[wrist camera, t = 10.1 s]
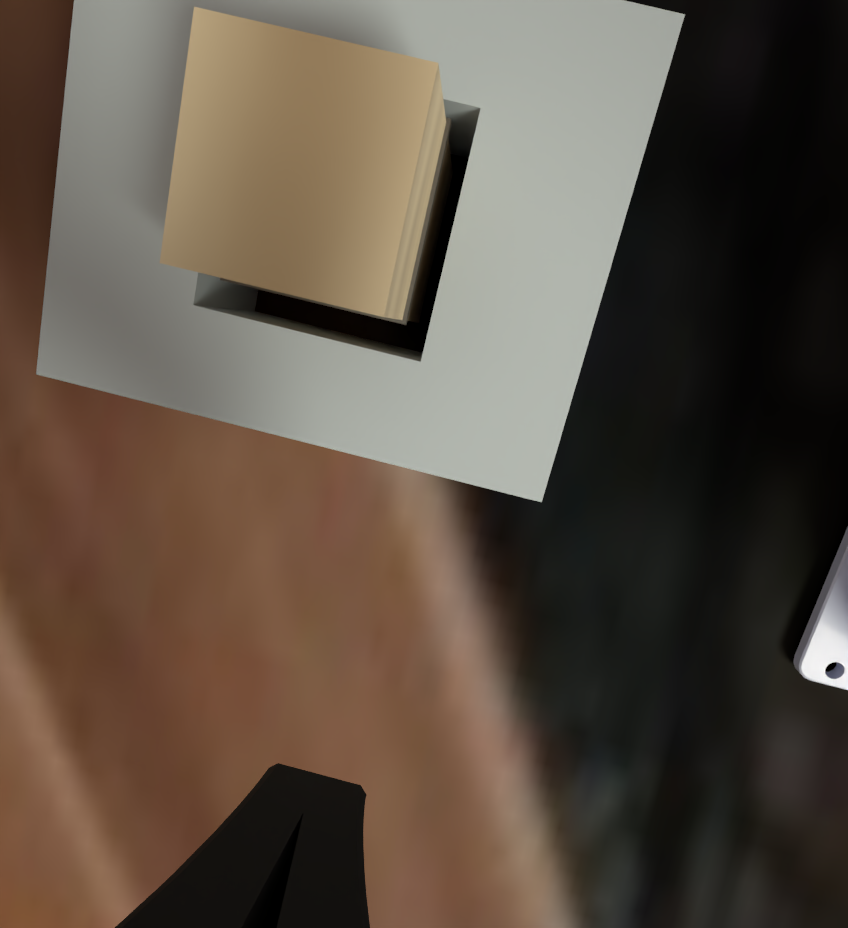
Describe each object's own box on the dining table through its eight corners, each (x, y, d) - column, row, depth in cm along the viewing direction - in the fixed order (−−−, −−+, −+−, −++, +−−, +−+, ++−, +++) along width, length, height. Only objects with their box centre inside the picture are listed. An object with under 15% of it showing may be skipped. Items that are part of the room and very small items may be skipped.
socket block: (633, 92, 16) (684, 14, 12) (526, 465, 18) (541, 502, 14) (179, -15, 16) (86, -124, 12) (129, 365, 18) (36, 374, 15)
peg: (456, 170, 17) (444, 58, 10) (421, 326, 18) (387, 322, 11) (305, 134, 17) (189, 0, 10) (277, 291, 18) (154, 266, 11)
